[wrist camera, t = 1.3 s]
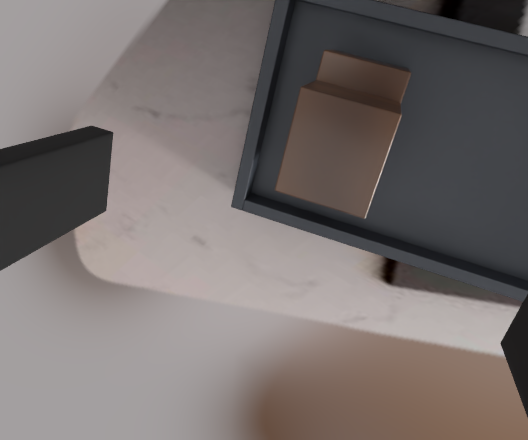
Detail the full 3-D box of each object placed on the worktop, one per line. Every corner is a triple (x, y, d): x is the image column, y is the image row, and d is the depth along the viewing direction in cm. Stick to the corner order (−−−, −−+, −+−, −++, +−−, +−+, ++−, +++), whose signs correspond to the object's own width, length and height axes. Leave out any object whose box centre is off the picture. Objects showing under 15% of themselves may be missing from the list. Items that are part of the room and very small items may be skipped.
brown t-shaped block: (297, 177, 29) (266, 218, 22) (332, 49, 26) (309, 50, 19) (365, 198, 29) (355, 247, 22) (409, 68, 25) (415, 77, 18)
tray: (241, 196, 32) (230, 207, 30) (288, -17, 26) (279, -22, 24) (562, 299, 28) (575, 319, 26) (694, 79, 23) (723, 83, 21)
